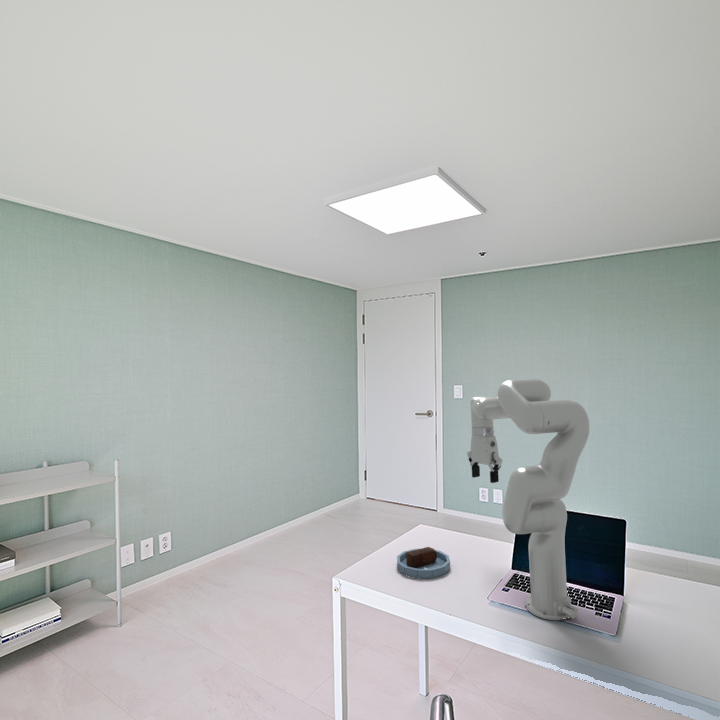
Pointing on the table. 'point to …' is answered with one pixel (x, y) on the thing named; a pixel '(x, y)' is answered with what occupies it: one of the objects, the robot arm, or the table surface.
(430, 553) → the brick
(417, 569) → the dish
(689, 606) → the table surface
